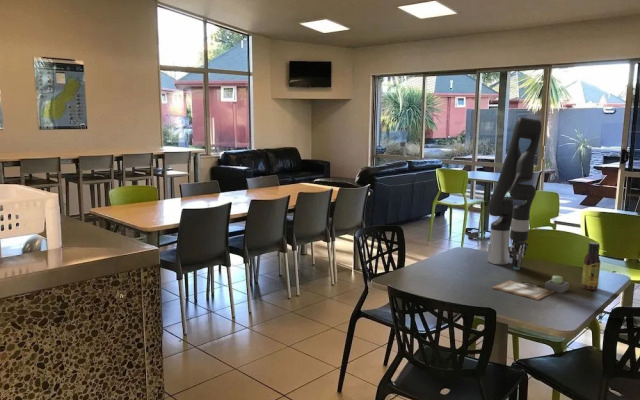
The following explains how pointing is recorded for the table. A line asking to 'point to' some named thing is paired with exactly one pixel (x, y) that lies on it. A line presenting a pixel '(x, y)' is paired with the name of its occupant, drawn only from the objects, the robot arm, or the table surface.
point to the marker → (518, 261)
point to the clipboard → (523, 289)
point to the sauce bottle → (591, 267)
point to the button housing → (557, 286)
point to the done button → (557, 279)
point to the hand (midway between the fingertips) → (516, 266)
